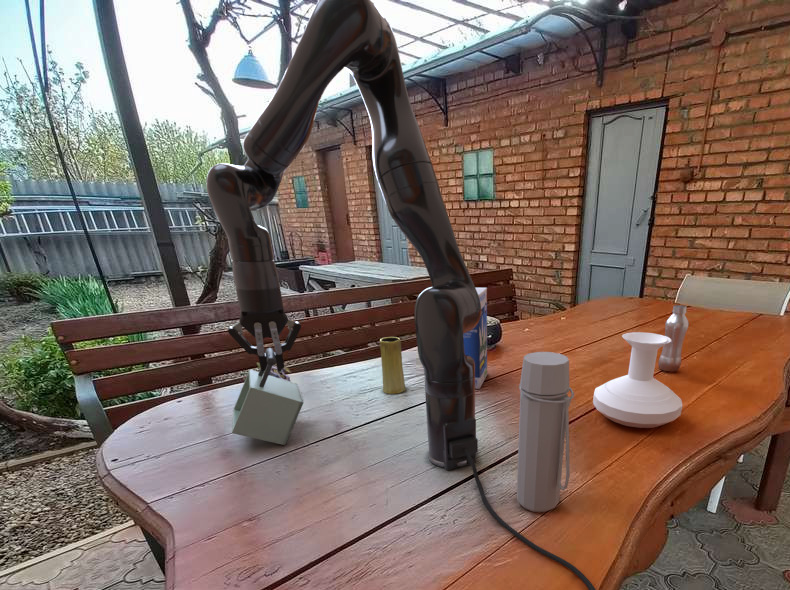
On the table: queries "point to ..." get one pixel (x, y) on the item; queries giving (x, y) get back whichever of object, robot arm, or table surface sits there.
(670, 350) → the plastic bottle
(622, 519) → the table surface
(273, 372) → the passion flower
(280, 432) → the pale green open box
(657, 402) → the white flared vase
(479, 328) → the string lights box
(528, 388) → the water bottle
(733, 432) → the table surface
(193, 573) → the table surface
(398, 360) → the vase
